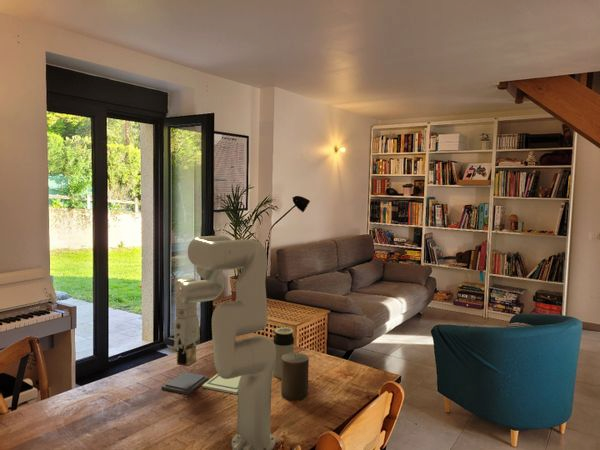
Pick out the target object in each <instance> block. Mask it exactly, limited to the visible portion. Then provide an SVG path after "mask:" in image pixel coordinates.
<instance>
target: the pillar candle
mask: <svg viewBox="0 0 600 450" xmlns="http://www.w3.org/2000/svg"><path fill="white" fill-rule="evenodd" d="M309 358H310V357H309V356H308V355H307V354H304V353H300V352H294V353H289V354H285V355H283V356H282V376H281V378H280V380H281V382H280V383H281V384H280V394H281V397H282V398H284V399H286V400H289V401H293V402H294V401H301V400H305V399H306V398H307V397H308V395H309V367H310V366H309V360H310V359H309ZM304 398H305V399H304Z"/></svg>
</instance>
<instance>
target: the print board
mask: <svg viewBox="0 0 600 450" xmlns="http://www.w3.org/2000/svg"><path fill="white" fill-rule="evenodd" d="M240 378H241V376H239V377H235V378H231V379H224V378H221V377H220V376H219V375H218V373H216V374H215V375H214V376H213V377H211V378H210V379H208V380H207V381H205V382H204V383H203V384H201V388H204V389H208V390H212V391H213V390H214V391H220V392H223V393H227V394H234V395H238V384H239V380H240Z"/></svg>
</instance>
